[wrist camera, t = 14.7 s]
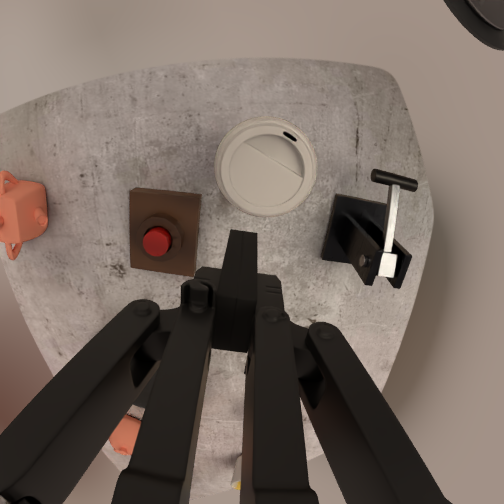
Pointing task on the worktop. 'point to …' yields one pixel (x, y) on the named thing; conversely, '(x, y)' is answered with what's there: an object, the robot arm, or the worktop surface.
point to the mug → (237, 474)
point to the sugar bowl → (125, 435)
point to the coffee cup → (265, 166)
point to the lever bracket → (361, 239)
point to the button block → (171, 219)
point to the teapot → (21, 212)
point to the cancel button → (157, 241)
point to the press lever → (391, 216)
